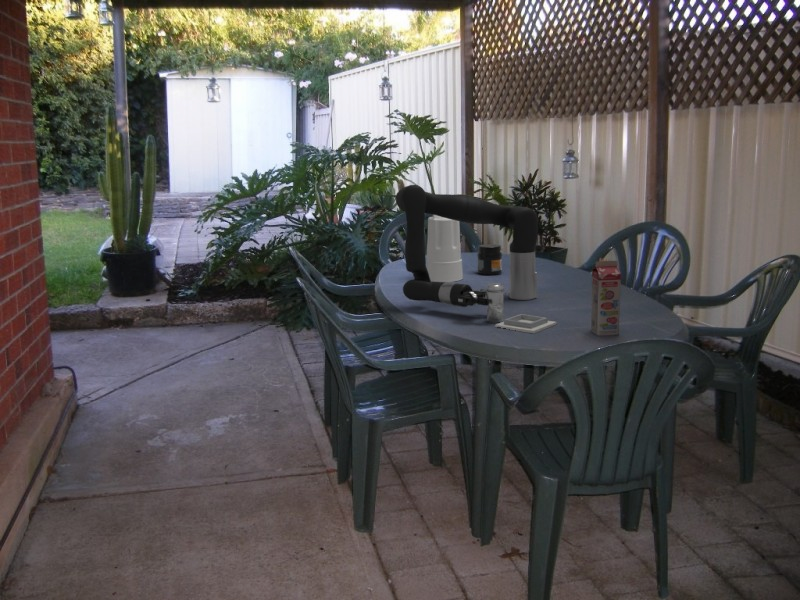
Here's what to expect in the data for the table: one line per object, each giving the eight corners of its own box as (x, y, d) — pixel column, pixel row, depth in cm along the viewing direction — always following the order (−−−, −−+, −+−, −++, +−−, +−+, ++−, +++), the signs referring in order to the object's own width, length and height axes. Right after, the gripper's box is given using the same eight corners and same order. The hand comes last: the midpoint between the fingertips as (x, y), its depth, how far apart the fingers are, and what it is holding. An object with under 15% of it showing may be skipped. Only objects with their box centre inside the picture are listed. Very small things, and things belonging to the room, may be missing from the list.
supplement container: (507, 273, 353) (507, 246, 350) (486, 276, 348) (486, 248, 345) (492, 270, 362) (492, 243, 359) (472, 273, 356) (472, 245, 354)
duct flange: (518, 318, 272) (518, 311, 272) (556, 324, 263) (556, 317, 263) (495, 327, 262) (495, 320, 261) (533, 333, 253) (533, 326, 252)
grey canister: (499, 318, 273) (499, 282, 271) (506, 321, 268) (506, 285, 266) (484, 319, 272) (484, 283, 269) (491, 323, 267) (491, 287, 264)
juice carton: (590, 330, 255) (592, 259, 250) (611, 329, 255) (614, 258, 251) (597, 335, 249) (599, 263, 244) (618, 334, 249) (621, 262, 244)
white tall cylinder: (442, 274, 356) (441, 195, 349) (470, 277, 346) (470, 197, 339) (419, 279, 345) (417, 198, 338) (447, 283, 335) (446, 200, 328)
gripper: (442, 286, 272) (483, 292, 262) (467, 280, 283) (507, 285, 273) (442, 309, 274) (483, 315, 264) (467, 301, 285) (507, 307, 274)
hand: (495, 299), depth 268 cm, fingers open, 8 cm apart
